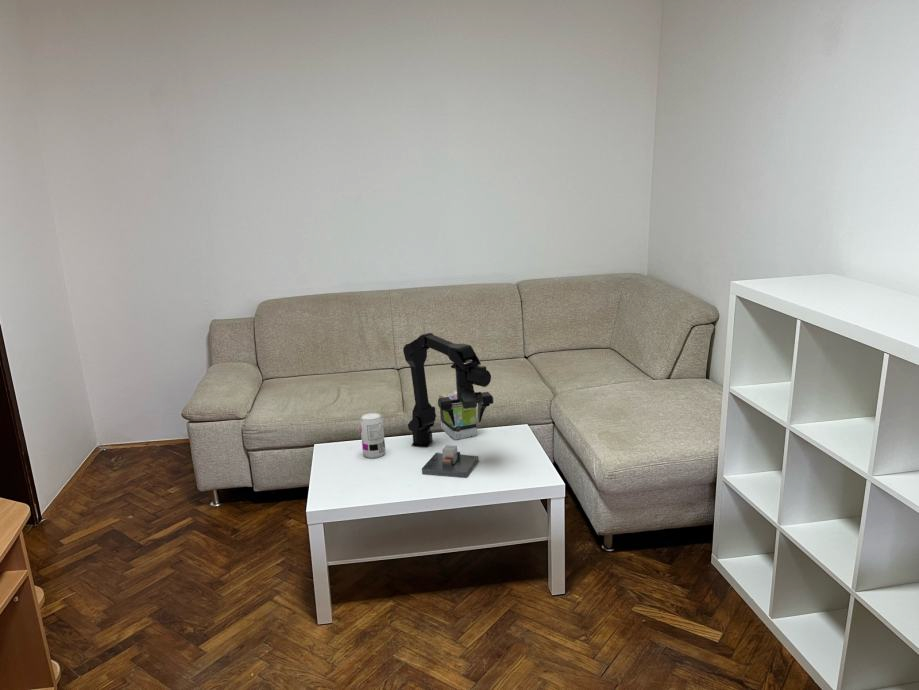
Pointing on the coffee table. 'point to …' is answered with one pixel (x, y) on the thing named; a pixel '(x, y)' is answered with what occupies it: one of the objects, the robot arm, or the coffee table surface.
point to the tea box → (458, 419)
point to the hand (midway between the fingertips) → (466, 423)
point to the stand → (450, 465)
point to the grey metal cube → (450, 453)
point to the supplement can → (372, 435)
